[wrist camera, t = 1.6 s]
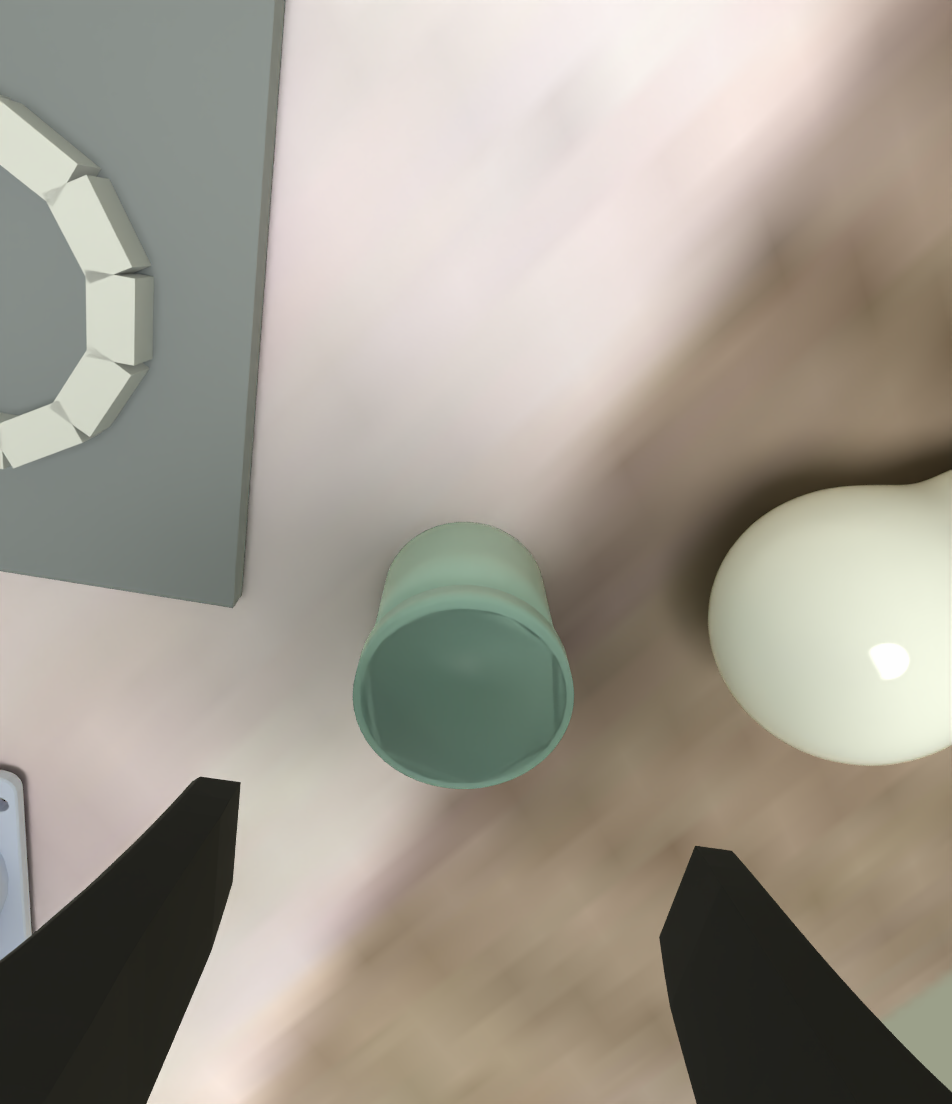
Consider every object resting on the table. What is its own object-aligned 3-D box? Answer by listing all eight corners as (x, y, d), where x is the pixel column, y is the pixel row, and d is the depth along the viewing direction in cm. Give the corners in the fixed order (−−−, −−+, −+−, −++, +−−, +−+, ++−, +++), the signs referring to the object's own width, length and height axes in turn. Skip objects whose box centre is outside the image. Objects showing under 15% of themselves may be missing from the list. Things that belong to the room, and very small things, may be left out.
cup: (529, 681, 21) (546, 802, 17) (368, 656, 21) (340, 773, 16) (567, 532, 20) (597, 622, 15) (391, 502, 19) (367, 584, 15)
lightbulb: (1367, 418, 13) (852, 767, 13) (1209, 598, 18) (835, 853, 17) (1034, 274, 17) (636, 536, 17) (980, 453, 22) (672, 658, 21)
